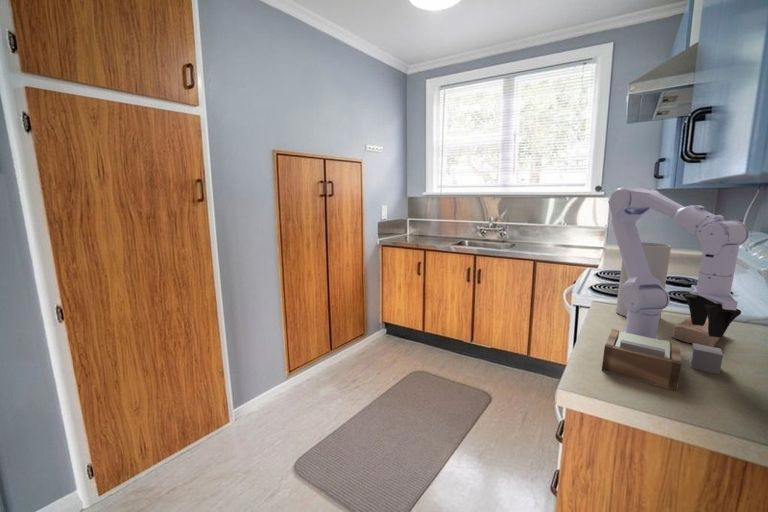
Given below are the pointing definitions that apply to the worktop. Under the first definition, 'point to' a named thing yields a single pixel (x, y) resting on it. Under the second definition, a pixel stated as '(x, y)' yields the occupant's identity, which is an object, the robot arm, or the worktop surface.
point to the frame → (642, 364)
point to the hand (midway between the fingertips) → (706, 330)
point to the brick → (694, 333)
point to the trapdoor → (644, 344)
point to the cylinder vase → (658, 268)
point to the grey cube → (706, 358)
